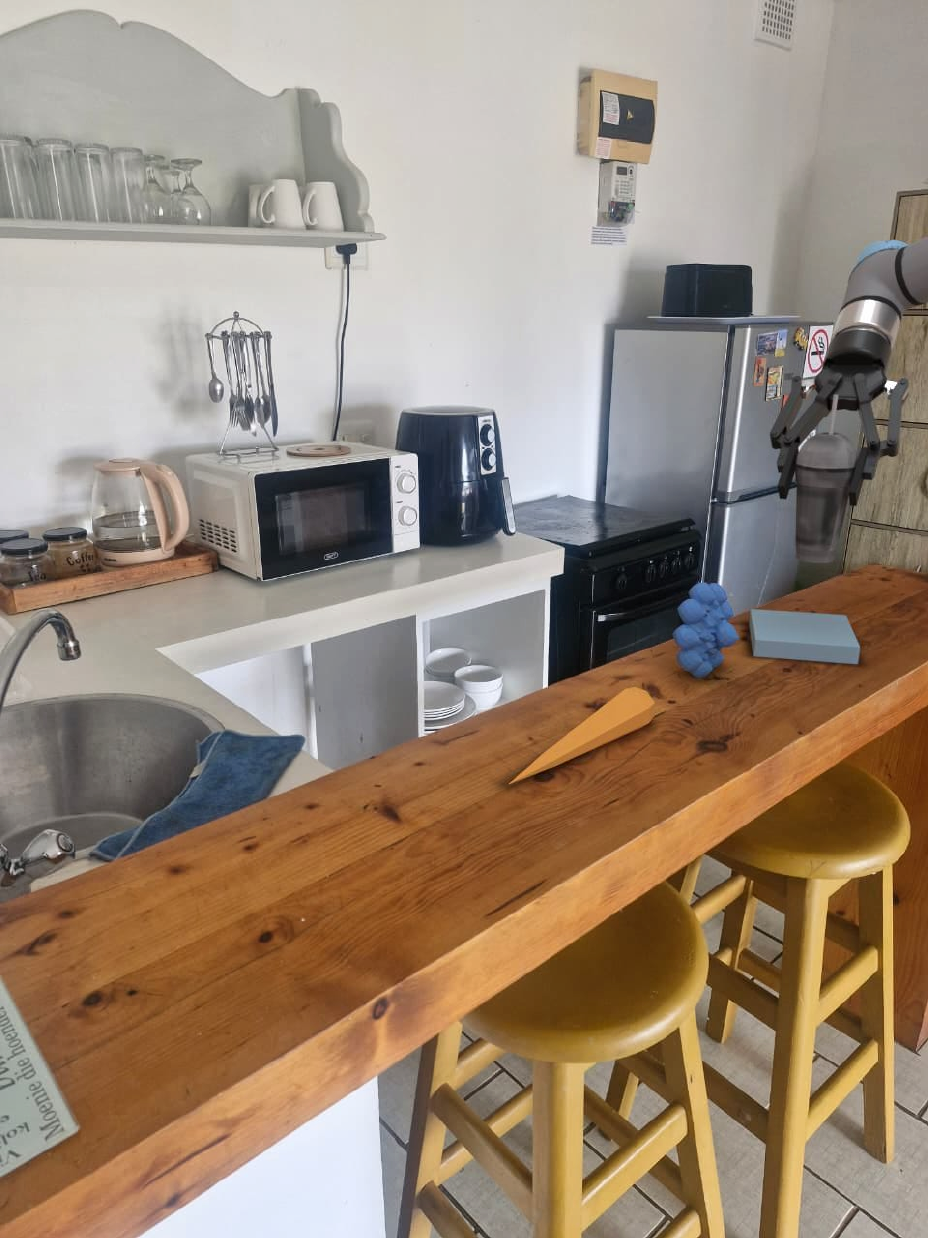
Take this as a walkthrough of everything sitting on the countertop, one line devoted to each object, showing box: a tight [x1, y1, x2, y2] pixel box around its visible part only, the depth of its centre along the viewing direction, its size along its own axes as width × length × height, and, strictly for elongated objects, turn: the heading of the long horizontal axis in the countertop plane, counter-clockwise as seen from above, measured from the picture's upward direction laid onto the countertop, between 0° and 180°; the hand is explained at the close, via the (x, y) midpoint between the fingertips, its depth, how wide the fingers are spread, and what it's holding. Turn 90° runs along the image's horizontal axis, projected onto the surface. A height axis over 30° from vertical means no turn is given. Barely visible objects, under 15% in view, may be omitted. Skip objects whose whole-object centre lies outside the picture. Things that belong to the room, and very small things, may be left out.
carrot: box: [508, 686, 656, 785], centre depth 85 cm, size 20×4×4 cm, turn 132°
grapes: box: [672, 582, 740, 679], centre depth 100 cm, size 12×7×12 cm, turn 138°
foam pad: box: [748, 608, 861, 665], centre depth 111 cm, size 12×12×2 cm
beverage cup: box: [794, 395, 859, 564], centre depth 105 cm, size 7×7×20 cm
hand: (816, 495), depth 103 cm, fingers closed on beverage cup, 7 cm apart
